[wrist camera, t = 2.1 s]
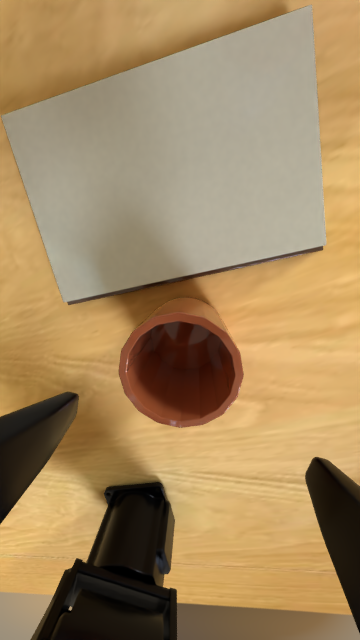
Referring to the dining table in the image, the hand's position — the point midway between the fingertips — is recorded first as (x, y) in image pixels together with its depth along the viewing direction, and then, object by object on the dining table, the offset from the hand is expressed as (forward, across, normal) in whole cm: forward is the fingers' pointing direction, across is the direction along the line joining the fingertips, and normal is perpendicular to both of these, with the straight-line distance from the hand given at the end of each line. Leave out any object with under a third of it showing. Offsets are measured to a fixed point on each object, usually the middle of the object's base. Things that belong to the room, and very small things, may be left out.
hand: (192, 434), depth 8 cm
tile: (+11, +5, -11) cm, 16 cm away
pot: (+11, +1, 0) cm, 11 cm away
